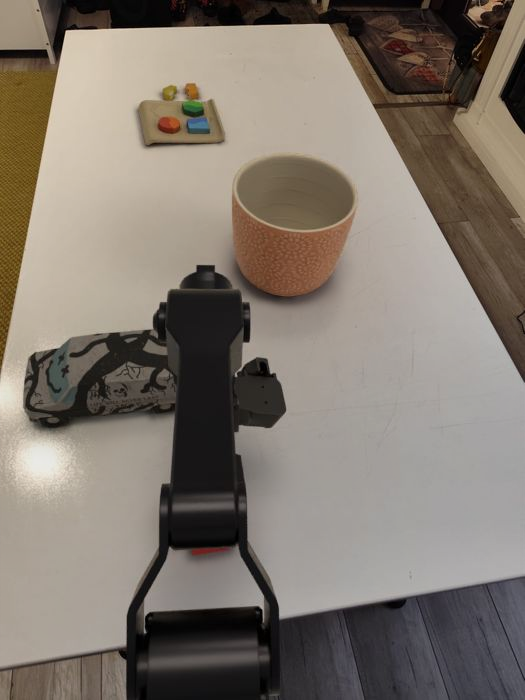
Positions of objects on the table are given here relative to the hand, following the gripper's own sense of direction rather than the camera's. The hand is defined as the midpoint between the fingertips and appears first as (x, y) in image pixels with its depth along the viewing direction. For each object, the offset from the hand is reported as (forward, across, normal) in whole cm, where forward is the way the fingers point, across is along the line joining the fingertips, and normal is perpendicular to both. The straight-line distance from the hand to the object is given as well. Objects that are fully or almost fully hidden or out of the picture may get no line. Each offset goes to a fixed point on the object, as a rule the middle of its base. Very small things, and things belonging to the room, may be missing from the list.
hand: (207, 448), depth 65 cm
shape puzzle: (+12, +96, -2) cm, 96 cm away
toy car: (+12, +17, +13) cm, 24 cm away
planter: (+12, +40, -18) cm, 46 cm away
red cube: (+11, -7, 0) cm, 13 cm away
